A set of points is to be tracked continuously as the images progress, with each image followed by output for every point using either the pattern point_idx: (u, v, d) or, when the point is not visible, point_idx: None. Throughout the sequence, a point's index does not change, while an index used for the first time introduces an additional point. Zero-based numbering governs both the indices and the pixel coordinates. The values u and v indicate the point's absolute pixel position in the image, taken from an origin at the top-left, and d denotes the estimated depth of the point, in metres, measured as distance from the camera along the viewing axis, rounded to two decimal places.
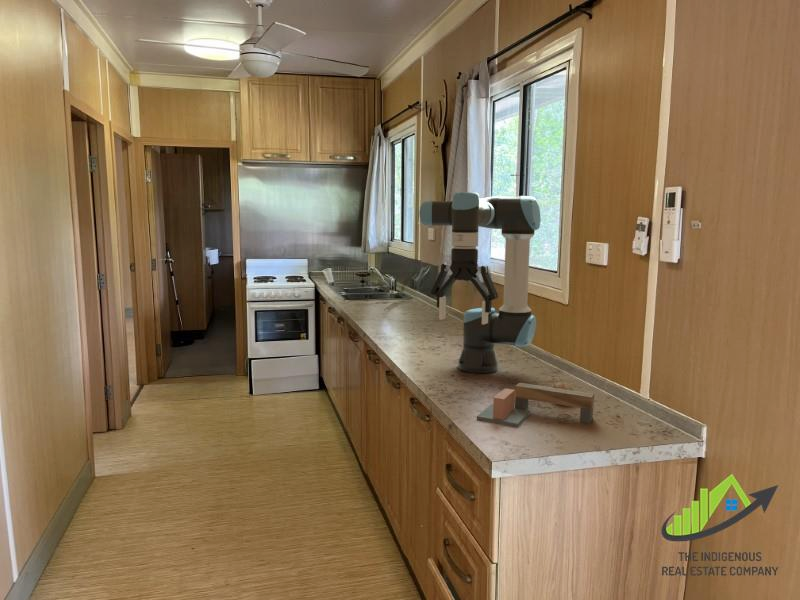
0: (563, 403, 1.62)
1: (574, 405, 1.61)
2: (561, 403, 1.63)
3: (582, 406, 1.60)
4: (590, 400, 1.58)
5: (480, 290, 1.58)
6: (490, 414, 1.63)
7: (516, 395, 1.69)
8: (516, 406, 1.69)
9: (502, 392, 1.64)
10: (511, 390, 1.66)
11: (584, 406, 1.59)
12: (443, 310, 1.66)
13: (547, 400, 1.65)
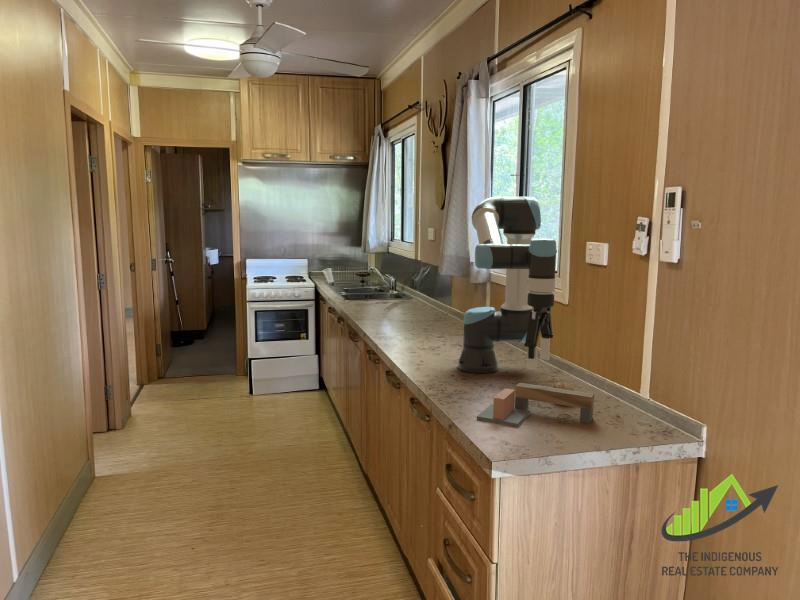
0: (563, 403, 1.62)
1: (574, 405, 1.61)
2: (561, 403, 1.63)
3: (582, 406, 1.60)
4: (590, 400, 1.58)
5: None
6: (490, 414, 1.63)
7: (516, 395, 1.69)
8: (516, 406, 1.69)
9: (502, 392, 1.64)
10: (511, 390, 1.66)
11: (584, 406, 1.59)
12: (543, 350, 1.71)
13: (547, 400, 1.65)
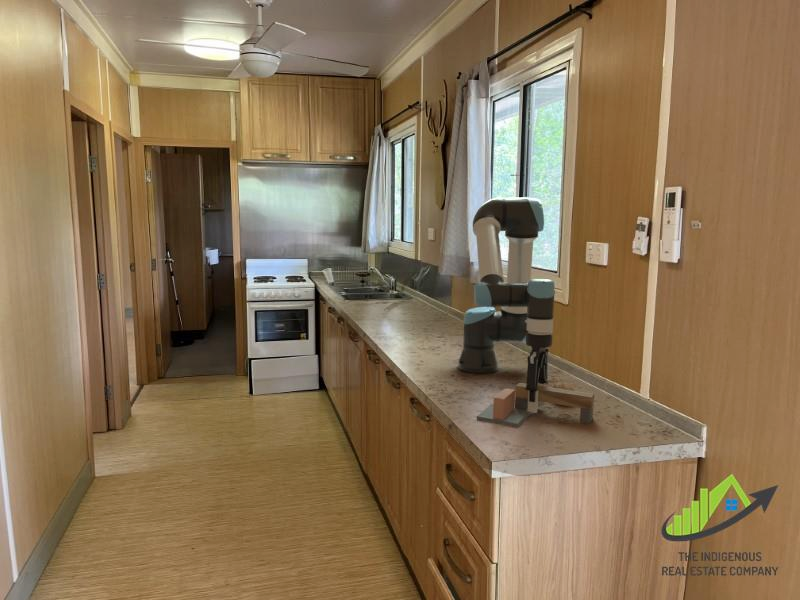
0: (563, 403, 1.62)
1: (574, 405, 1.61)
2: (561, 403, 1.63)
3: (582, 406, 1.60)
4: (590, 400, 1.58)
5: None
6: (490, 414, 1.63)
7: (516, 395, 1.69)
8: (516, 406, 1.69)
9: (502, 392, 1.64)
10: (511, 390, 1.66)
11: (584, 406, 1.59)
12: None
13: (547, 400, 1.65)
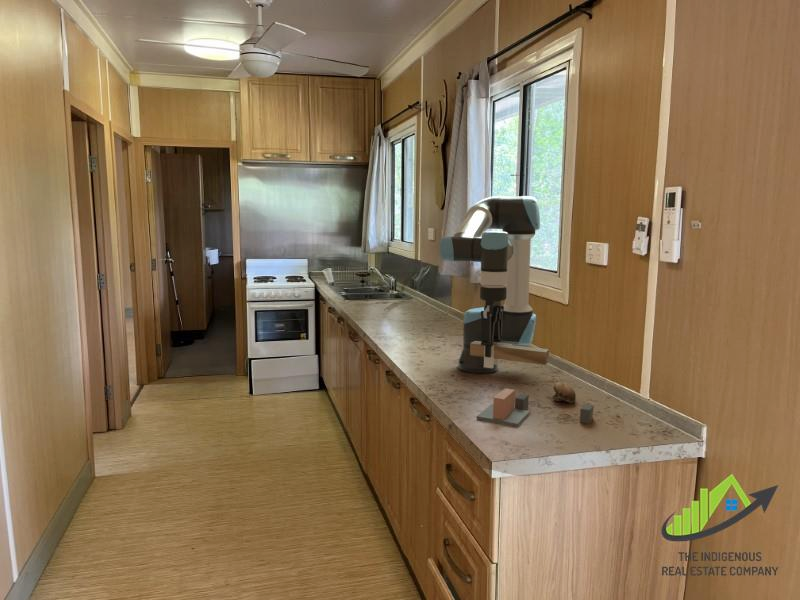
0: (517, 359, 1.58)
1: (528, 361, 1.57)
2: (515, 359, 1.59)
3: (536, 362, 1.56)
4: (544, 355, 1.55)
5: None
6: (490, 414, 1.63)
7: (471, 353, 1.65)
8: (516, 406, 1.69)
9: (502, 392, 1.64)
10: (511, 390, 1.66)
11: (538, 362, 1.56)
12: None
13: (501, 357, 1.61)
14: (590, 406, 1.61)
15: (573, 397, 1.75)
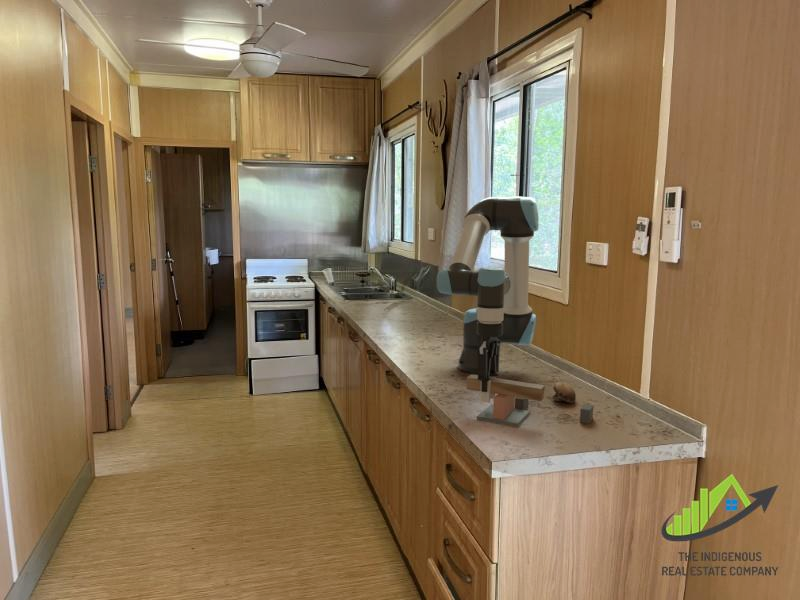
0: (513, 395, 1.60)
1: (524, 397, 1.58)
2: (511, 395, 1.60)
3: (532, 398, 1.57)
4: (539, 392, 1.56)
5: None
6: (490, 414, 1.63)
7: (468, 387, 1.66)
8: (516, 406, 1.69)
9: None
10: None
11: (534, 398, 1.57)
12: None
13: (498, 392, 1.62)
14: (590, 406, 1.61)
15: (573, 397, 1.75)
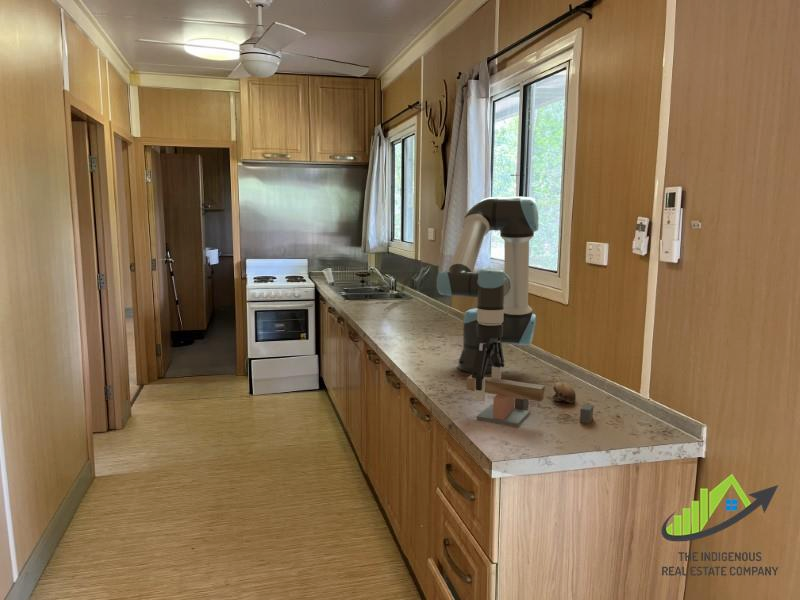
0: (513, 395, 1.60)
1: (524, 397, 1.58)
2: (511, 395, 1.60)
3: (532, 398, 1.57)
4: (539, 392, 1.56)
5: None
6: (490, 414, 1.63)
7: (467, 387, 1.66)
8: (516, 406, 1.69)
9: None
10: None
11: (534, 398, 1.57)
12: None
13: (498, 392, 1.62)
14: (590, 406, 1.61)
15: (573, 397, 1.75)
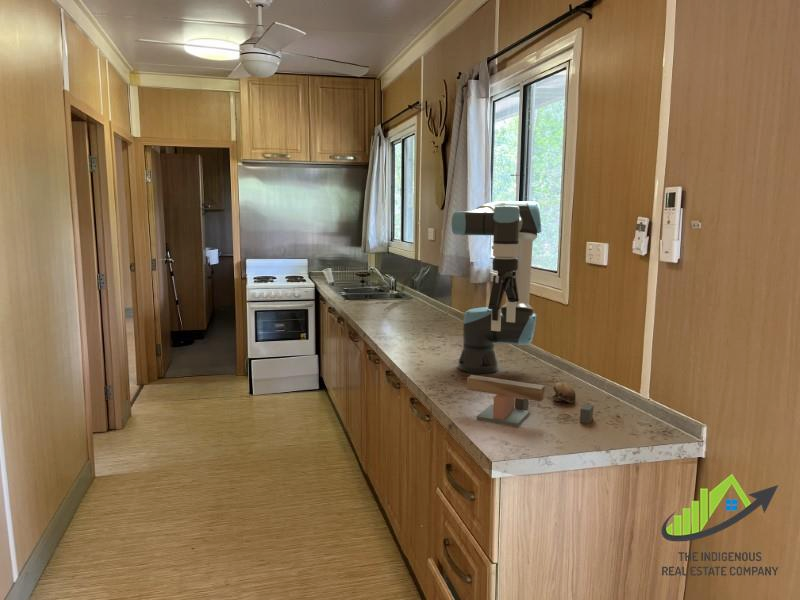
0: (513, 395, 1.60)
1: (524, 397, 1.58)
2: (511, 395, 1.60)
3: (532, 398, 1.57)
4: (539, 392, 1.56)
5: None
6: (490, 414, 1.63)
7: (467, 387, 1.66)
8: (516, 406, 1.69)
9: None
10: None
11: (534, 398, 1.57)
12: (509, 313, 1.79)
13: (498, 392, 1.62)
14: (590, 406, 1.61)
15: (573, 397, 1.75)
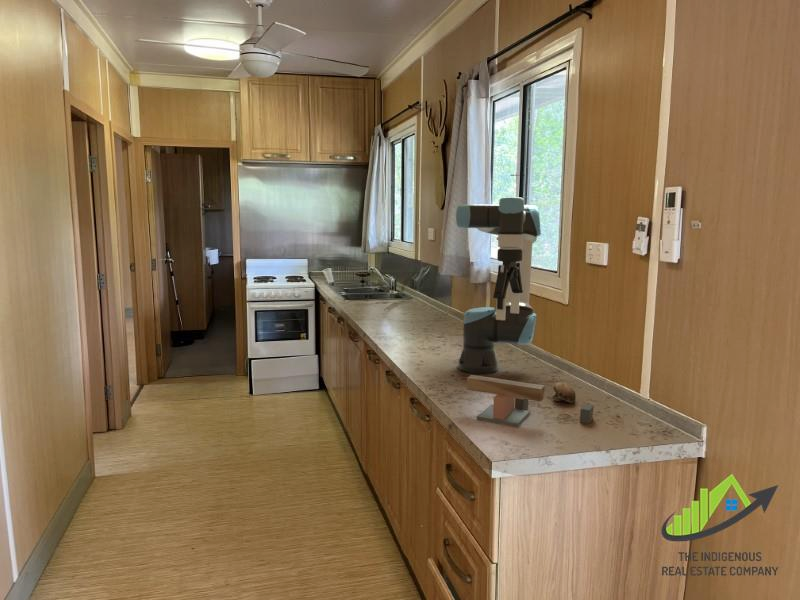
0: (513, 395, 1.60)
1: (524, 397, 1.58)
2: (511, 395, 1.60)
3: (532, 398, 1.57)
4: (539, 392, 1.56)
5: None
6: (490, 414, 1.63)
7: (467, 387, 1.66)
8: (516, 406, 1.69)
9: None
10: None
11: (534, 398, 1.57)
12: (513, 305, 1.82)
13: (498, 392, 1.62)
14: (590, 406, 1.61)
15: (573, 397, 1.75)
